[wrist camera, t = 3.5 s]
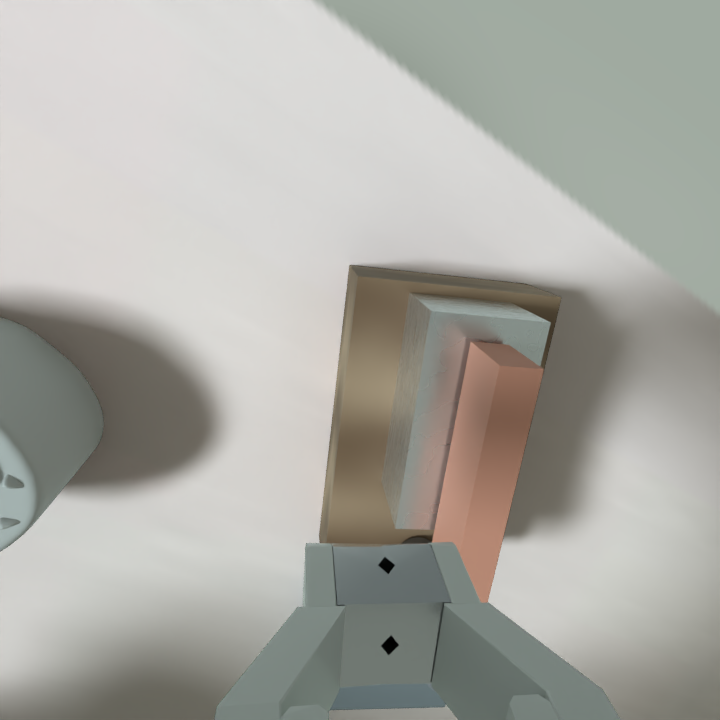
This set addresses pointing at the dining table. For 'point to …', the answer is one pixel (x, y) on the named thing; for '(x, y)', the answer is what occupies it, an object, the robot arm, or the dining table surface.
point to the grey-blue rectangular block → (441, 392)
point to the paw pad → (39, 427)
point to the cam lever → (485, 457)
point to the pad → (386, 697)
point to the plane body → (387, 391)
